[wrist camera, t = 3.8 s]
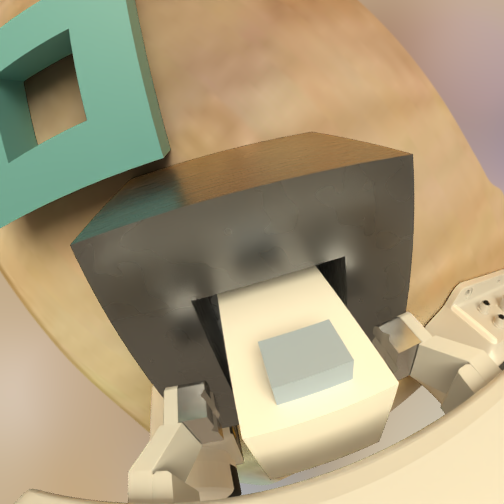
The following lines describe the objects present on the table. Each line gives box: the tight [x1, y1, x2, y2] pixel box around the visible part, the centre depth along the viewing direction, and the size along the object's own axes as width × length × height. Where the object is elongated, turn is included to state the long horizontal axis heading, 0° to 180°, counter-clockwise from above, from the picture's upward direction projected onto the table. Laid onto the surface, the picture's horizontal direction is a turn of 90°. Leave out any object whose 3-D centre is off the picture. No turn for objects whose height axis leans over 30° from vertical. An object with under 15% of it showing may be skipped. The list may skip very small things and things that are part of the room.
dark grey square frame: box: [70, 132, 414, 428], centre depth 16 cm, size 12×12×10 cm
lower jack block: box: [0, 0, 171, 228], centre depth 12 cm, size 12×12×4 cm
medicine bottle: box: [150, 385, 244, 501], centre depth 22 cm, size 7×7×12 cm
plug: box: [217, 266, 399, 480], centre depth 11 cm, size 4×5×9 cm
